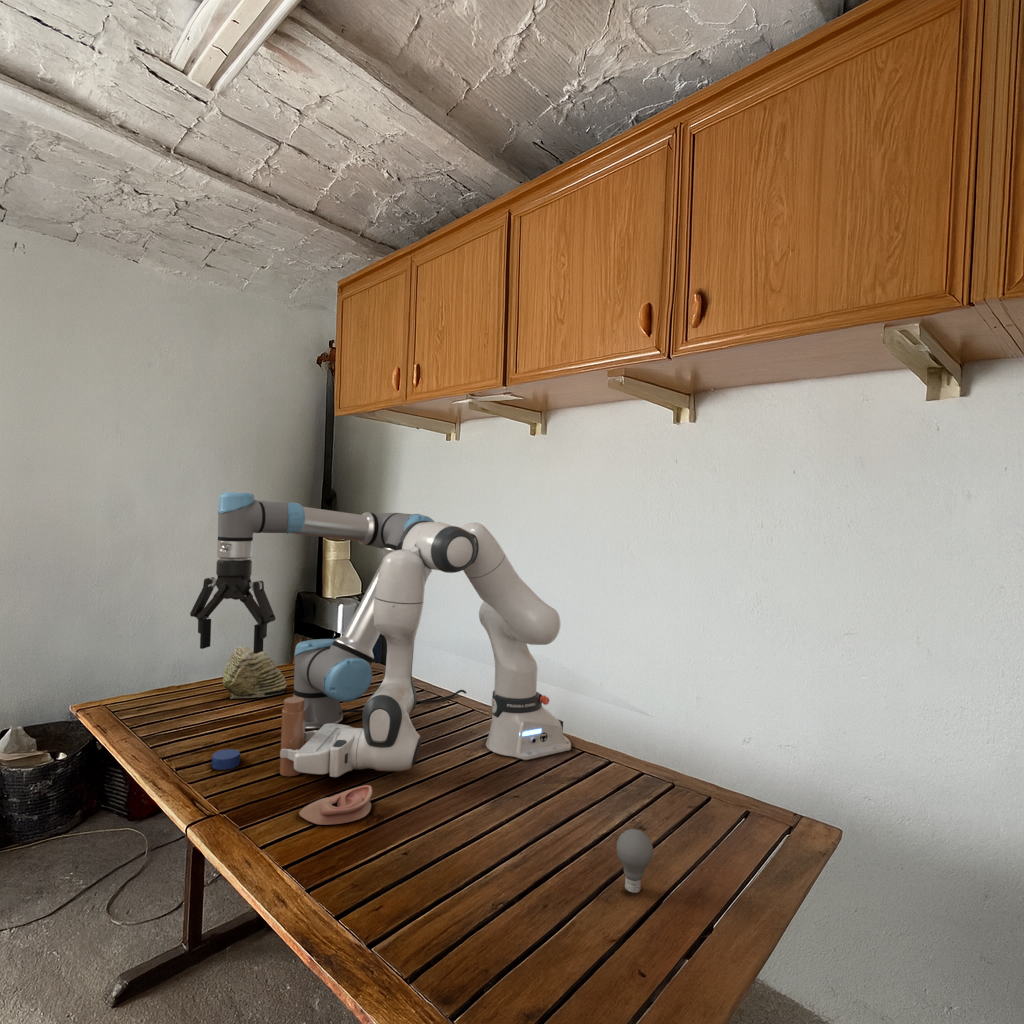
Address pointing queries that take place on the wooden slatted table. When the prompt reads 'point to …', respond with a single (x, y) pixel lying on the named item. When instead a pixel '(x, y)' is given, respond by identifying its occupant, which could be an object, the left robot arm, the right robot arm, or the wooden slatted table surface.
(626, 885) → the light bulb
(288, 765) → the jar
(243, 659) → the fossil
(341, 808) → the anatomical model
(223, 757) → the lid
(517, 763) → the wooden slatted table surface
